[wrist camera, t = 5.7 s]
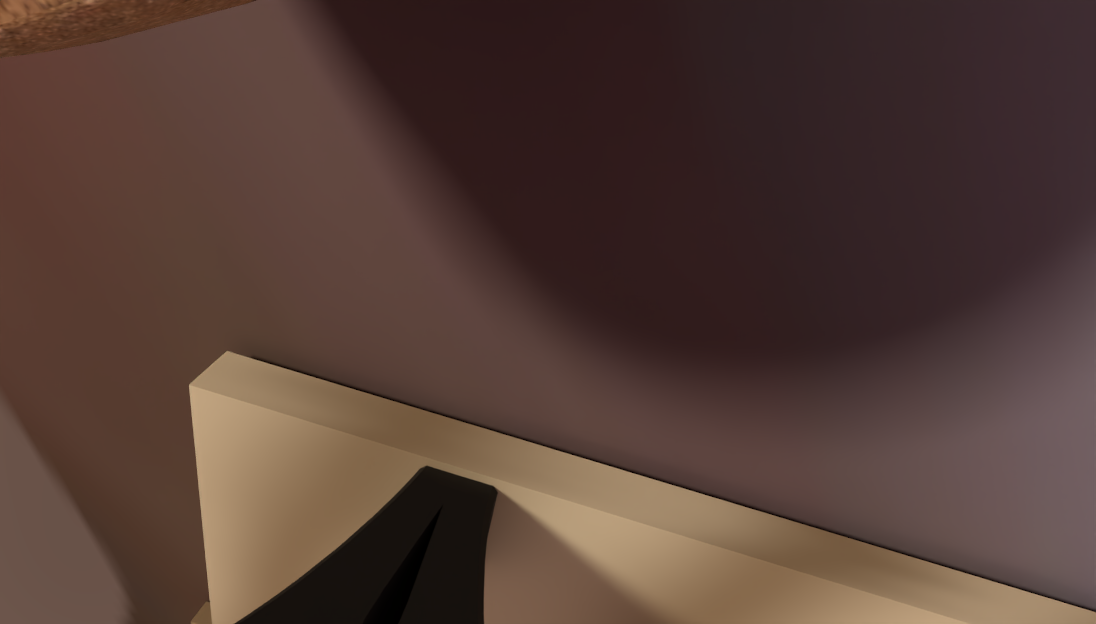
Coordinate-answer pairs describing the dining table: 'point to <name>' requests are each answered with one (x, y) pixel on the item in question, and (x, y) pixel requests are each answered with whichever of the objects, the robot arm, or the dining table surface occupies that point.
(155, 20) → the lidded jar
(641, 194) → the dining table surface
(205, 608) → the thin wooden board
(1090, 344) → the dining table surface
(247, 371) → the board
